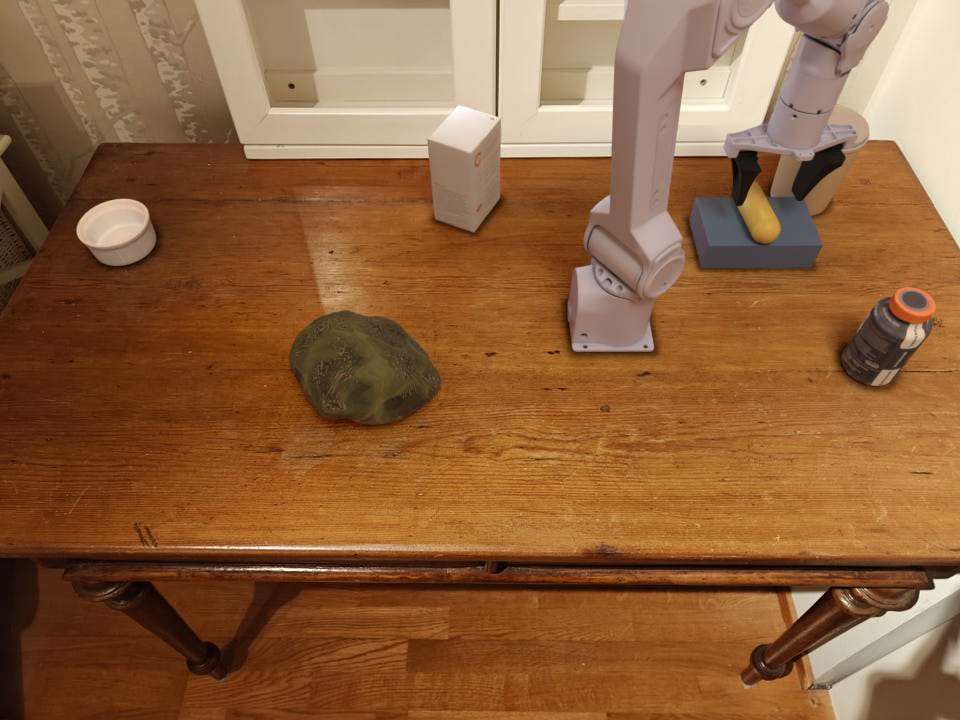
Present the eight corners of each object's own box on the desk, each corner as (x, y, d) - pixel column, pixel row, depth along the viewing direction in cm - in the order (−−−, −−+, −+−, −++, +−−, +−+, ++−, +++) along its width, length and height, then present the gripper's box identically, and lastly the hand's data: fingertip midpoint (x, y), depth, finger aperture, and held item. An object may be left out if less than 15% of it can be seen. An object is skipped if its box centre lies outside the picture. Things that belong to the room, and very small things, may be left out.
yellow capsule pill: (787, 242, 85) (783, 224, 82) (758, 253, 86) (754, 236, 83) (757, 186, 91) (752, 168, 88) (731, 197, 92) (726, 180, 90)
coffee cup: (841, 190, 98) (880, 114, 88) (822, 229, 93) (861, 154, 84) (776, 168, 101) (806, 92, 91) (754, 205, 96) (784, 130, 87)
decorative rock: (407, 324, 86) (405, 261, 79) (450, 421, 76) (453, 360, 69) (285, 351, 82) (271, 287, 74) (313, 458, 72) (301, 396, 65)
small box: (461, 185, 99) (457, 103, 89) (501, 198, 97) (502, 116, 87) (432, 219, 95) (425, 138, 84) (474, 234, 93) (472, 153, 83)
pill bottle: (898, 391, 78) (952, 327, 69) (842, 383, 78) (889, 318, 69) (890, 349, 81) (941, 283, 72) (837, 342, 82) (881, 274, 73)
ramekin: (143, 274, 89) (129, 249, 86) (78, 266, 90) (62, 242, 87) (172, 226, 95) (160, 201, 91) (110, 220, 95) (96, 195, 92)
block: (701, 268, 89) (709, 245, 86) (688, 220, 94) (695, 197, 91) (811, 268, 89) (823, 245, 86) (792, 219, 94) (803, 196, 91)
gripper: (754, 126, 72) (719, 225, 83) (889, 116, 73) (837, 215, 84) (732, 87, 76) (701, 186, 87) (860, 78, 77) (814, 177, 88)
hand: (766, 198), depth 86 cm, fingers open, 7 cm apart
